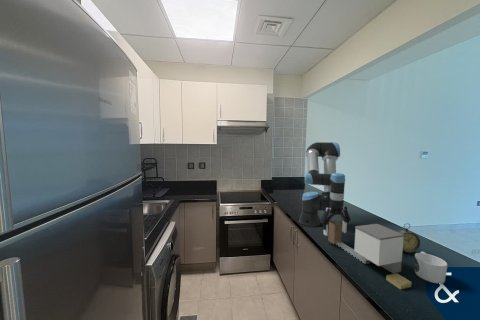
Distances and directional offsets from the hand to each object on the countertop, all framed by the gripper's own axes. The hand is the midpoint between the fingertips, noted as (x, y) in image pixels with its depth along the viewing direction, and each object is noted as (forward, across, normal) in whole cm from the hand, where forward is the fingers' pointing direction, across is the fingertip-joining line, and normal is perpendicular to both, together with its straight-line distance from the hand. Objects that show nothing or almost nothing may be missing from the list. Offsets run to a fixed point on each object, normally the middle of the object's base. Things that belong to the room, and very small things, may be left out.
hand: (334, 233), depth 120 cm
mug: (+5, +19, -36) cm, 42 cm away
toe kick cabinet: (+5, +2, -26) cm, 26 cm away
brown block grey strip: (+5, 0, -10) cm, 12 cm away
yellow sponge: (+5, 0, -38) cm, 38 cm away
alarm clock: (+5, +30, -20) cm, 36 cm away
